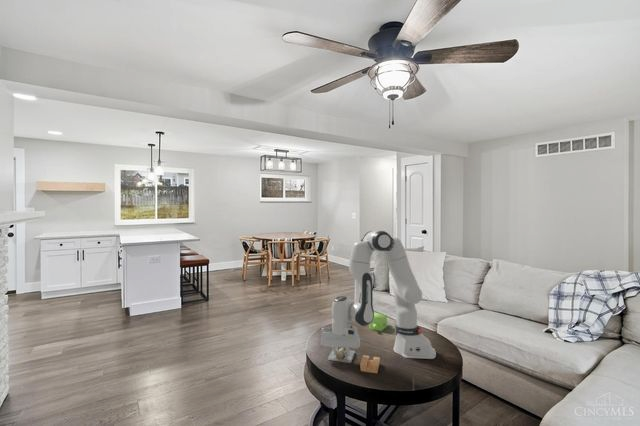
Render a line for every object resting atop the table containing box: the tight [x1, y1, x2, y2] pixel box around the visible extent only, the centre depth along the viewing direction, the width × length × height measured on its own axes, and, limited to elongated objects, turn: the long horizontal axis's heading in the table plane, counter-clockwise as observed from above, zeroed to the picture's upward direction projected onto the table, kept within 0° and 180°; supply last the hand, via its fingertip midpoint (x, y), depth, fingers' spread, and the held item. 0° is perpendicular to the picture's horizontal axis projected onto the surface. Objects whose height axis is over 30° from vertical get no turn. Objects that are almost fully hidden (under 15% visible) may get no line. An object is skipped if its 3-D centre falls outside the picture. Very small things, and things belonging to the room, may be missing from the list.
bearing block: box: [327, 347, 356, 364], centre depth 172 cm, size 12×12×6 cm
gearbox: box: [368, 312, 388, 332], centre depth 213 cm, size 18×10×10 cm, turn 149°
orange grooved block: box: [359, 354, 381, 374], centre depth 160 cm, size 8×10×4 cm
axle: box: [336, 347, 346, 360], centre depth 172 cm, size 14×3×3 cm, turn 165°
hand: (340, 355), depth 168 cm, fingers closed on axle, 3 cm apart
